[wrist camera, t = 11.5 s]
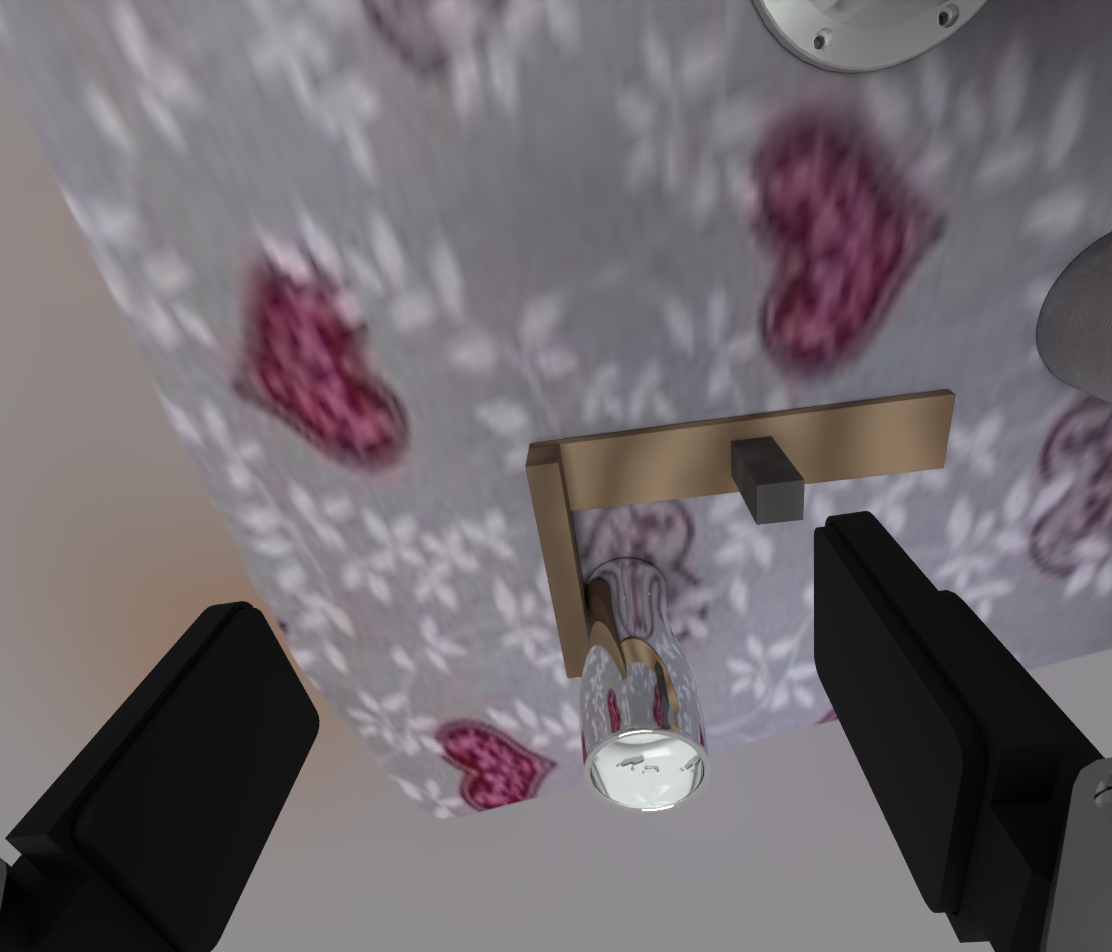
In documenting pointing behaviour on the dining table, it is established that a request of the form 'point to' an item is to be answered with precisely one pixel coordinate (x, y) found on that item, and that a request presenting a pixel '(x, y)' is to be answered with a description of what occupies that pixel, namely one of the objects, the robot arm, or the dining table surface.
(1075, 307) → the pillar candle
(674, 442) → the brown wooden bent piece
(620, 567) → the beer glass
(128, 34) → the dining table surface
